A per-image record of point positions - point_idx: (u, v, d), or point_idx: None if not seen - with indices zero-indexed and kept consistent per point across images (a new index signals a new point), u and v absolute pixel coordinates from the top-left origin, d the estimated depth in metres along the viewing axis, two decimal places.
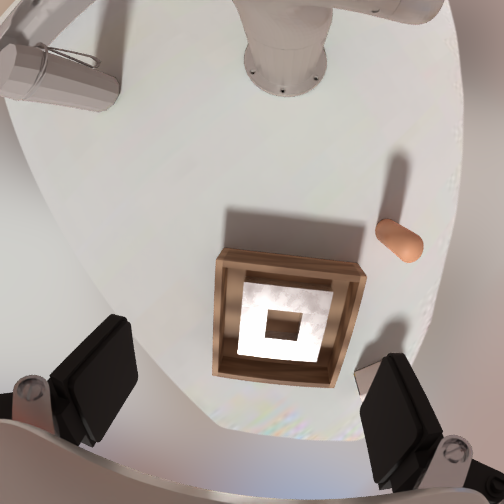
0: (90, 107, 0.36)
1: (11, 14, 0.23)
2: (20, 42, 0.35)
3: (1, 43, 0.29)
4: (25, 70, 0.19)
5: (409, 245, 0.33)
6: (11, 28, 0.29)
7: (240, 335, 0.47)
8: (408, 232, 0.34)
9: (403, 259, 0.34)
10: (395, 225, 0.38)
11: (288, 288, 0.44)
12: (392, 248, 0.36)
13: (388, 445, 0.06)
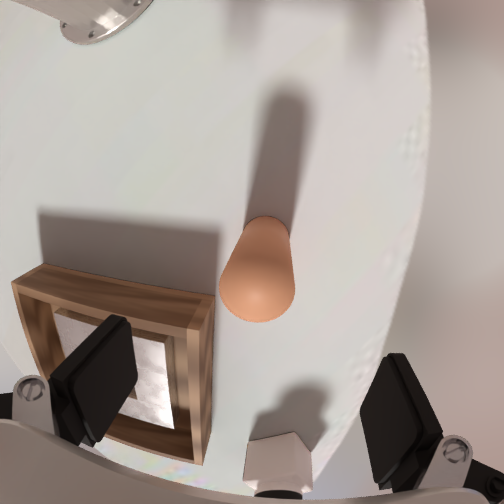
0: None
1: None
2: None
3: None
4: None
5: (251, 283, 0.15)
6: None
7: None
8: (251, 250, 0.15)
9: (239, 314, 0.16)
10: (254, 230, 0.19)
11: None
12: None
13: (388, 445, 0.06)
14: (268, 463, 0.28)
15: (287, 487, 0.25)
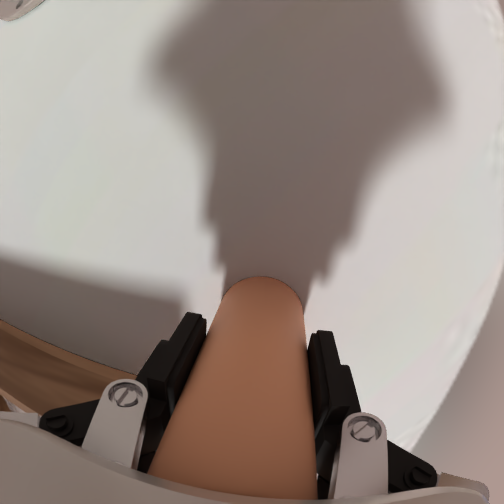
0: None
1: None
2: None
3: None
4: None
5: None
6: None
7: None
8: (206, 459, 0.04)
9: None
10: (233, 336, 0.08)
11: None
12: None
13: None
14: None
15: None
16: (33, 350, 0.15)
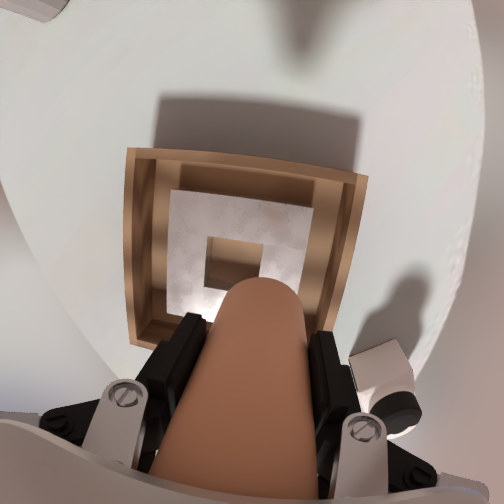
0: (33, 11, 0.19)
1: None
2: None
3: None
4: None
5: None
6: None
7: (168, 281, 0.30)
8: (207, 460, 0.04)
9: None
10: (234, 337, 0.08)
11: (238, 198, 0.27)
12: None
13: None
14: (380, 369, 0.30)
15: (406, 388, 0.26)
16: None
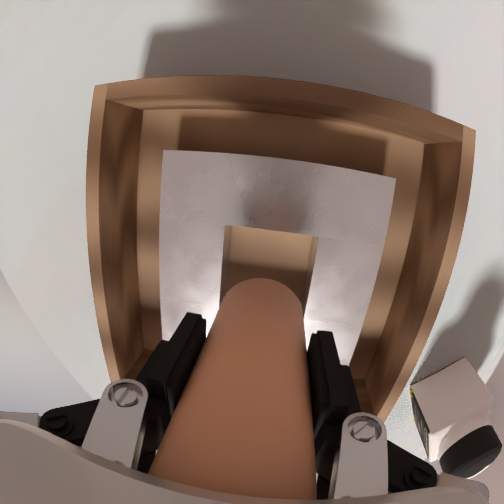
0: None
1: None
2: None
3: None
4: None
5: None
6: None
7: (162, 299, 0.19)
8: (206, 462, 0.04)
9: None
10: (233, 339, 0.08)
11: (277, 161, 0.16)
12: None
13: None
14: (455, 400, 0.18)
15: (485, 422, 0.15)
16: None
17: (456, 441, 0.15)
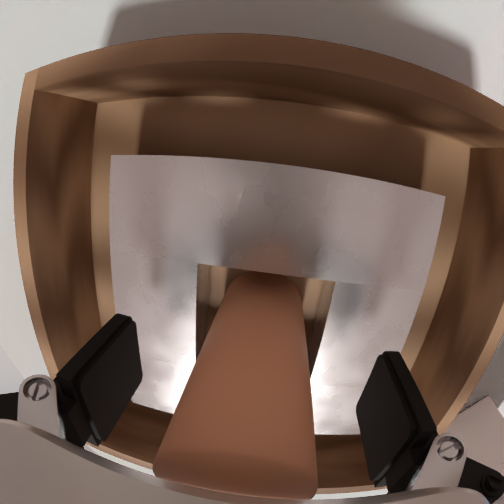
0: None
1: None
2: None
3: None
4: None
5: (220, 482, 0.05)
6: None
7: None
8: (216, 426, 0.05)
9: None
10: (238, 322, 0.09)
11: (275, 168, 0.10)
12: None
13: (383, 443, 0.06)
14: (477, 448, 0.13)
15: None
16: None
17: None
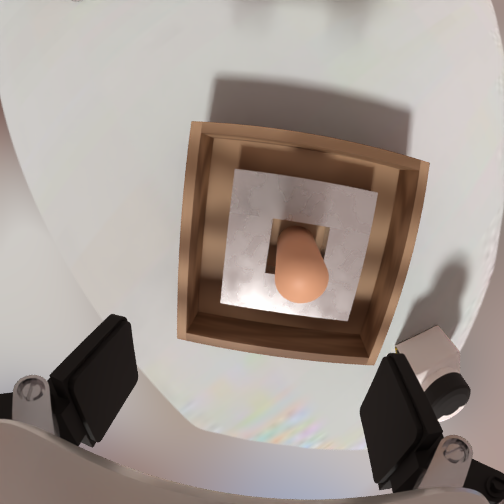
0: None
1: None
2: None
3: None
4: None
5: (298, 273, 0.21)
6: None
7: (225, 268, 0.29)
8: (298, 250, 0.21)
9: (288, 297, 0.21)
10: (294, 236, 0.25)
11: (306, 180, 0.26)
12: None
13: (388, 445, 0.06)
14: (429, 353, 0.29)
15: (455, 370, 0.25)
16: None
17: (432, 382, 0.25)
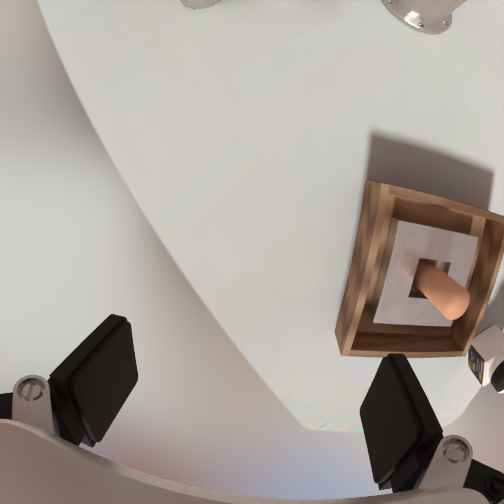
0: None
1: None
2: None
3: None
4: None
5: (456, 301, 0.26)
6: None
7: (382, 295, 0.34)
8: (456, 286, 0.26)
9: (447, 316, 0.26)
10: (438, 272, 0.30)
11: (442, 230, 0.31)
12: (435, 302, 0.28)
13: (388, 445, 0.06)
14: (493, 345, 0.33)
15: None
16: None
17: (498, 364, 0.30)
